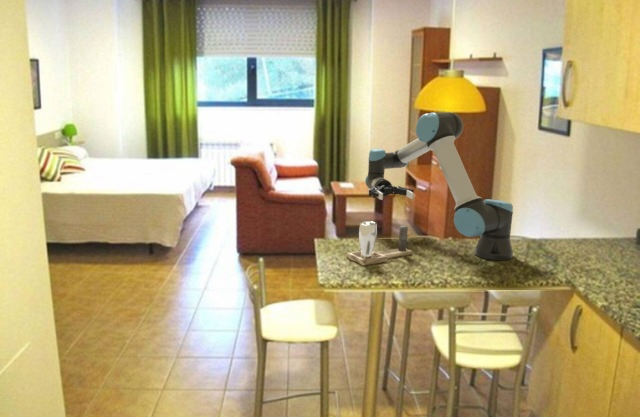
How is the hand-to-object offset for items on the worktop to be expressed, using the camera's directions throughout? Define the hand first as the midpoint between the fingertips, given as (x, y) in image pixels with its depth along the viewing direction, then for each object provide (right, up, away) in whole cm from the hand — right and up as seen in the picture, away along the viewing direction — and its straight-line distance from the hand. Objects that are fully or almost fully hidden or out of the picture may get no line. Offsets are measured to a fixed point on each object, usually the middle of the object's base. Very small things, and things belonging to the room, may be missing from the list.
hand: (397, 196), depth 251 cm
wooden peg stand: (-8, -25, -10) cm, 28 cm away
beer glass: (-14, -26, -13) cm, 32 cm away
